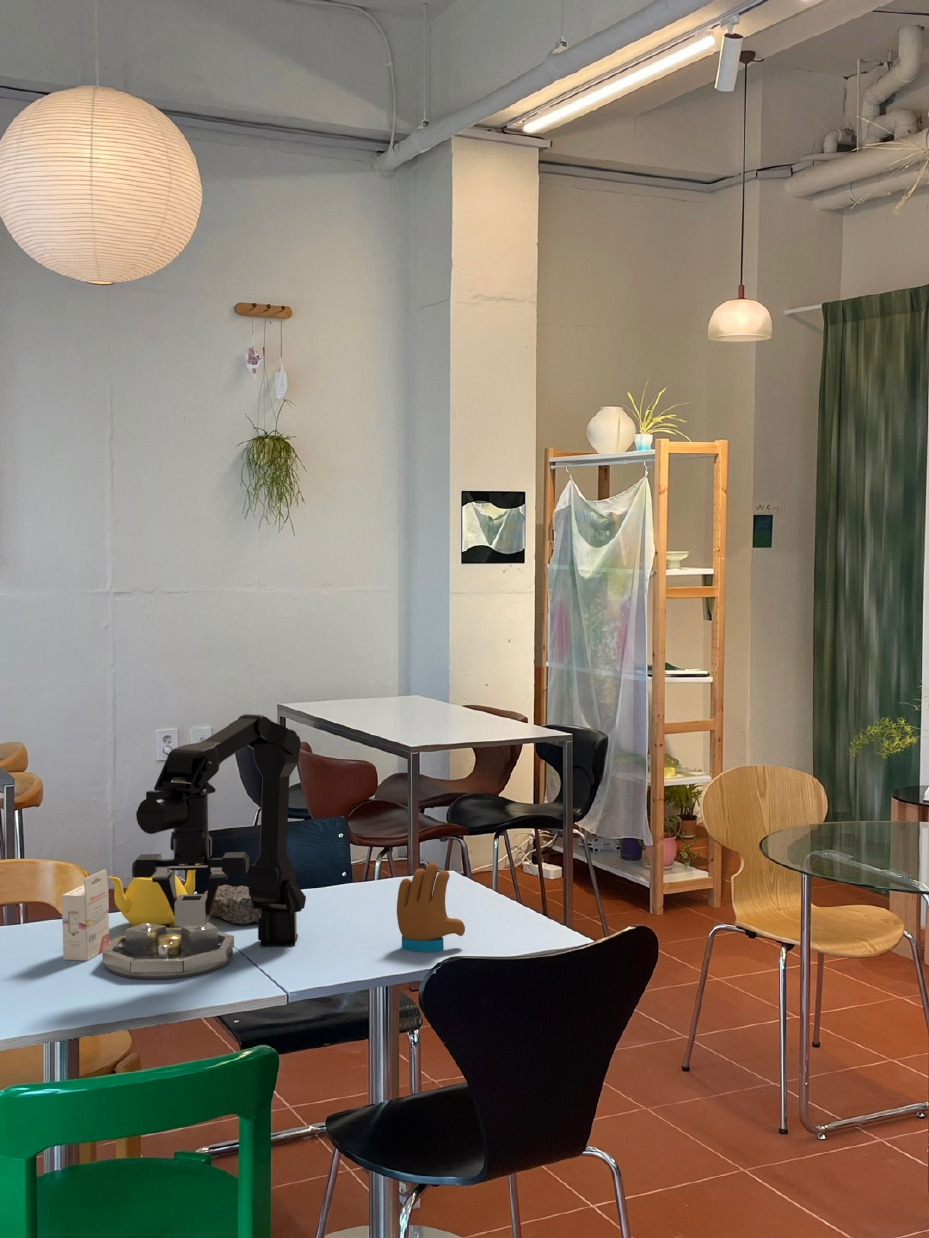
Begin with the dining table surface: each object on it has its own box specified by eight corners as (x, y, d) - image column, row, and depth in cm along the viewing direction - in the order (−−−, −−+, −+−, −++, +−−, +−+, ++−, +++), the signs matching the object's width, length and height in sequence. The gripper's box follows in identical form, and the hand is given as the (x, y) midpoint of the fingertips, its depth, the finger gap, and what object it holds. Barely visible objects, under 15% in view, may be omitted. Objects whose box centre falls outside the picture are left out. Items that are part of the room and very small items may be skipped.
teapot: (127, 943, 233) (126, 882, 233) (93, 927, 244) (92, 869, 244) (222, 924, 246) (221, 866, 246) (185, 910, 257) (185, 854, 257)
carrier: (241, 942, 233) (241, 911, 233) (222, 978, 211) (222, 944, 211) (122, 944, 232) (121, 912, 232) (90, 980, 210) (90, 946, 210)
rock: (286, 922, 248) (256, 908, 261) (286, 889, 249) (256, 877, 261) (226, 930, 242) (198, 915, 254) (226, 896, 242) (198, 883, 254)
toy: (467, 944, 231) (466, 863, 230) (453, 955, 224) (453, 871, 224) (406, 939, 235) (406, 859, 234) (391, 949, 228) (391, 867, 228)
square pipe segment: (209, 917, 213) (209, 893, 213) (205, 925, 208) (204, 901, 208) (179, 918, 213) (179, 894, 213) (174, 925, 208) (174, 902, 208)
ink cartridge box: (85, 946, 231) (84, 867, 231) (110, 948, 230) (109, 868, 230) (61, 960, 223) (60, 877, 222) (87, 961, 222) (86, 878, 221)
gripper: (252, 813, 219) (253, 902, 219) (143, 815, 218) (145, 904, 218) (244, 825, 208) (246, 918, 208) (130, 827, 207) (132, 921, 207)
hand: (192, 915), depth 211 cm, fingers closed on square pipe segment, 5 cm apart
